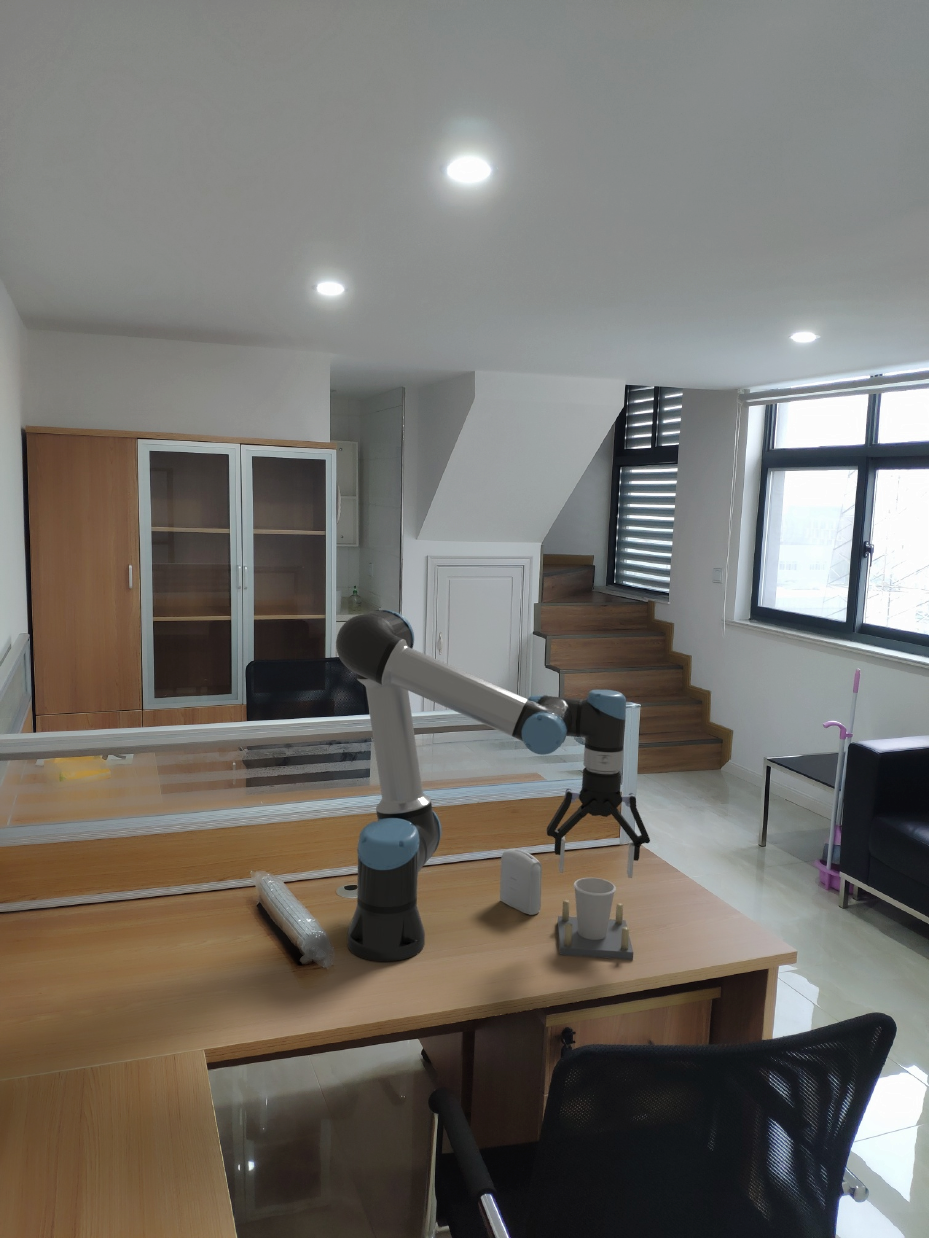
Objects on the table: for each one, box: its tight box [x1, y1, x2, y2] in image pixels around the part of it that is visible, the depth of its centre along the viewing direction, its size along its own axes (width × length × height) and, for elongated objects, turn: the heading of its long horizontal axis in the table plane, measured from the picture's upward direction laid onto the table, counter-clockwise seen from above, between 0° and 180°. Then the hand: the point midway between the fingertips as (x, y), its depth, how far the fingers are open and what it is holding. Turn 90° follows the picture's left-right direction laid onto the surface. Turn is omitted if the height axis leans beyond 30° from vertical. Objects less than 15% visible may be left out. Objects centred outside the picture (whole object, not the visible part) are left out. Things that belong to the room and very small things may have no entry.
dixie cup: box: [573, 877, 617, 940], centre depth 176 cm, size 8×8×10 cm
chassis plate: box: [557, 899, 634, 961], centre depth 177 cm, size 14×14×6 cm
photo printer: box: [499, 848, 543, 916], centre depth 191 cm, size 10×4×12 cm, turn 39°
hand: (595, 872), depth 175 cm, fingers open, 13 cm apart
